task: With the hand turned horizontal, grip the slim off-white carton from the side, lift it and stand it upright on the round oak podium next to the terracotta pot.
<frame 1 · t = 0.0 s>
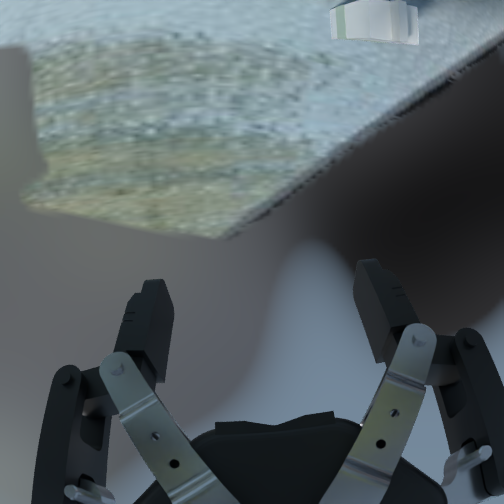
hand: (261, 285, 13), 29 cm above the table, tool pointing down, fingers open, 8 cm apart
carton: (350, 25, 28), on the table
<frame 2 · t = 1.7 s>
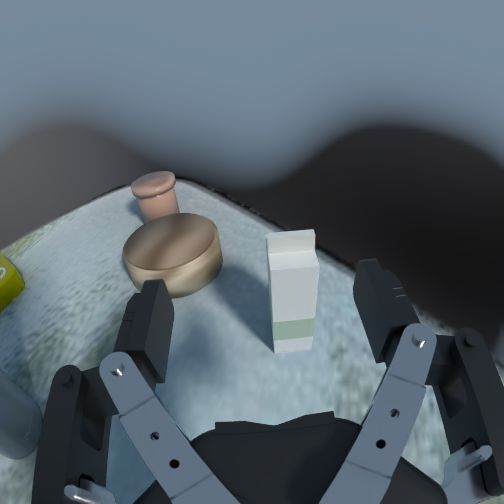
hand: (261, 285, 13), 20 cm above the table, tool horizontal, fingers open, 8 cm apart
carton: (290, 333, 34), on the table
terracotta pot: (162, 218, 57), on the table
oak podium: (176, 264, 45), on the table
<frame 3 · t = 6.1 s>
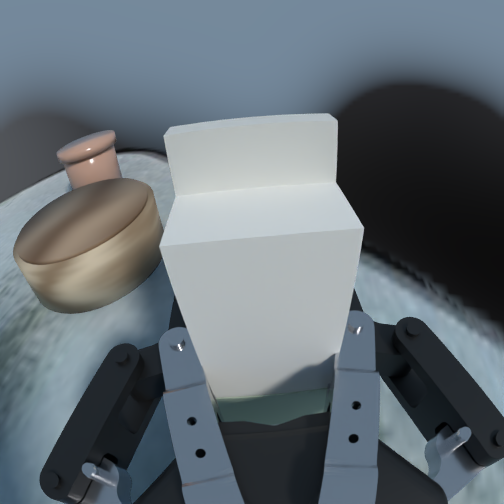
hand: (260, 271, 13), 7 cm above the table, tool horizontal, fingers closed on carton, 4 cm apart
carton: (271, 397, 15), on the table, touching gripper
terracotta pot: (101, 196, 38), on the table
oak podium: (96, 258, 26), on the table
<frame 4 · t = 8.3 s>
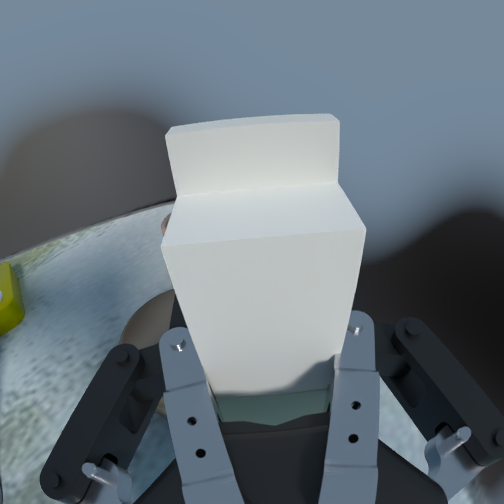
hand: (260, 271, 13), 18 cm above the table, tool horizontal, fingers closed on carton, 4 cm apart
carton: (272, 397, 15), point 12 cm above the table, touching gripper
oak podium: (198, 363, 30), on the table
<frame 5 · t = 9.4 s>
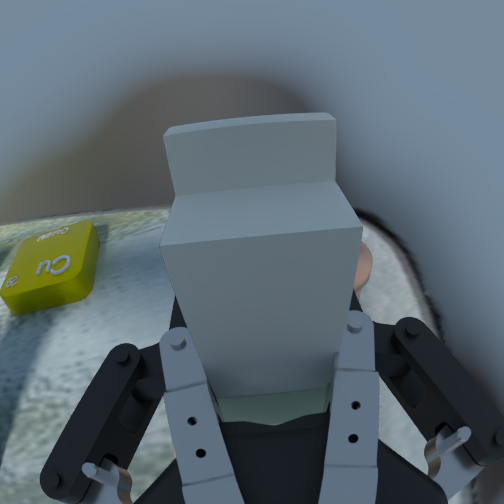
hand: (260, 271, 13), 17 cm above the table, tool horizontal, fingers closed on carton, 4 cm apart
carton: (272, 396, 15), point 10 cm above the table, touching gripper
element tile: (57, 277, 41), on the table
terracotta pot: (322, 314, 32), on the table
when the fingers open (12 cm above the table, at t = 10.4 s): carton stays where it is, resting on oak podium.
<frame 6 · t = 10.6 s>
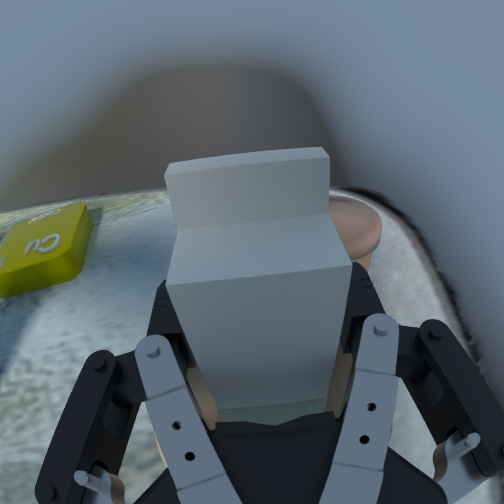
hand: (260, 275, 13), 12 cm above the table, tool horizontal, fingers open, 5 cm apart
carton: (272, 403, 16), point 5 cm above the table, touching oak podium
element tile: (47, 260, 39), on the table
terracotta pot: (327, 289, 29), on the table
oak podium: (274, 431, 19), on the table
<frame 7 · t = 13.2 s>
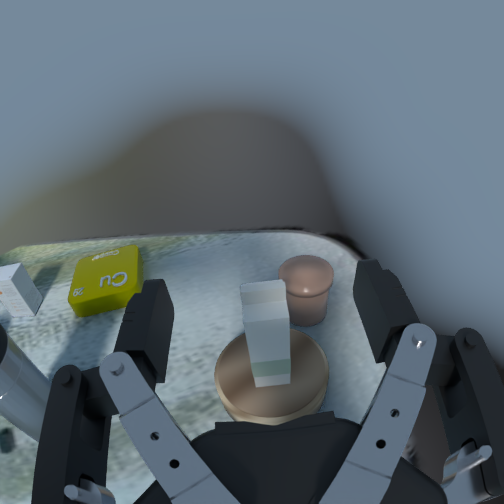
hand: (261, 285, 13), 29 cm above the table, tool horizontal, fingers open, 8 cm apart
carton: (271, 368, 36), point 5 cm above the table, touching oak podium
element tile: (111, 288, 59), on the table
small box: (28, 308, 55), on the table
terracotta pot: (305, 309, 49), on the table
oak podium: (273, 387, 39), on the table
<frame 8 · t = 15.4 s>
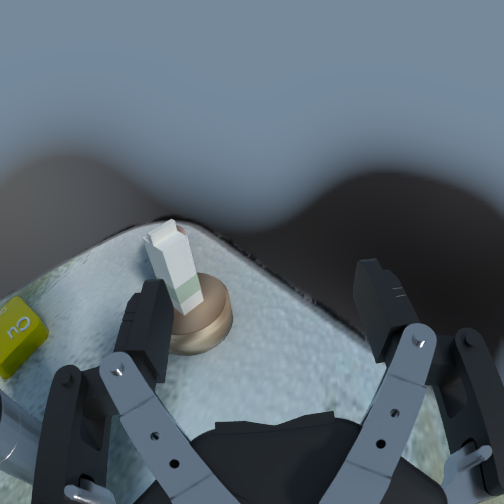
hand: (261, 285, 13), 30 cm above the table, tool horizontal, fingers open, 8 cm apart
carton: (184, 300, 47), point 5 cm above the table, touching oak podium
element tile: (16, 342, 47), on the table
oak podium: (191, 320, 50), on the table
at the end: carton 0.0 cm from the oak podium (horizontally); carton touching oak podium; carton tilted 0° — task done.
